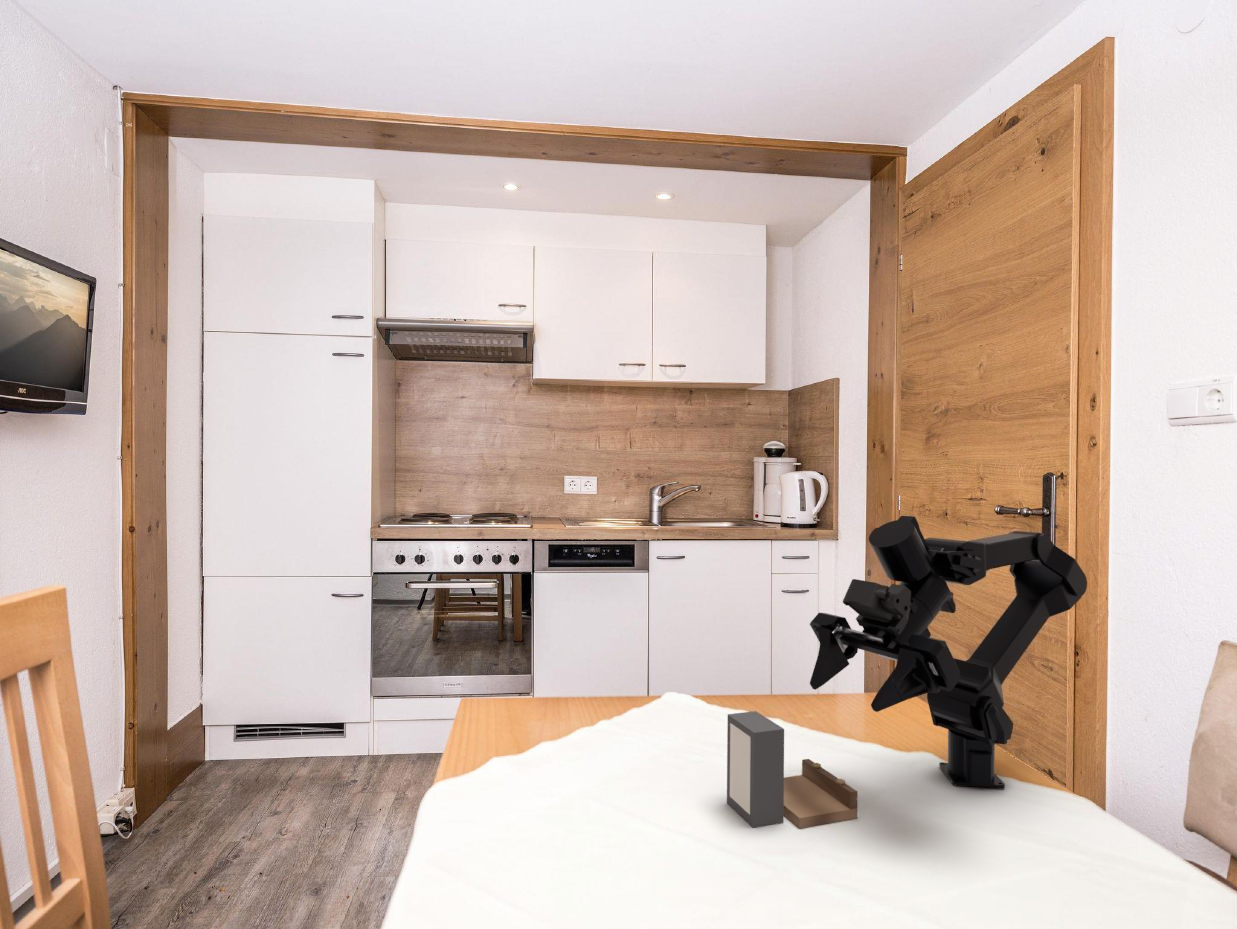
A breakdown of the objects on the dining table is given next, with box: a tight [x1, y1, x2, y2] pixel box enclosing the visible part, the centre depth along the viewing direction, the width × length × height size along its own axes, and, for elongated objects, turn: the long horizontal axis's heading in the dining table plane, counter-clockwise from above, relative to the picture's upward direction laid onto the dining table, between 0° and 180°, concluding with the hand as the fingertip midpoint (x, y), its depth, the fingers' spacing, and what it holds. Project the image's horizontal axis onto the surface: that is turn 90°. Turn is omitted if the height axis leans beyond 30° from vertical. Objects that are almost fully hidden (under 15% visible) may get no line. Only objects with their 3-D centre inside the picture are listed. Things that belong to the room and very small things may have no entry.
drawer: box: [783, 758, 858, 829], centre depth 87 cm, size 8×10×4 cm
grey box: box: [726, 710, 785, 829], centre depth 85 cm, size 4×6×11 cm, turn 19°
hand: (841, 697), depth 83 cm, fingers open, 9 cm apart
